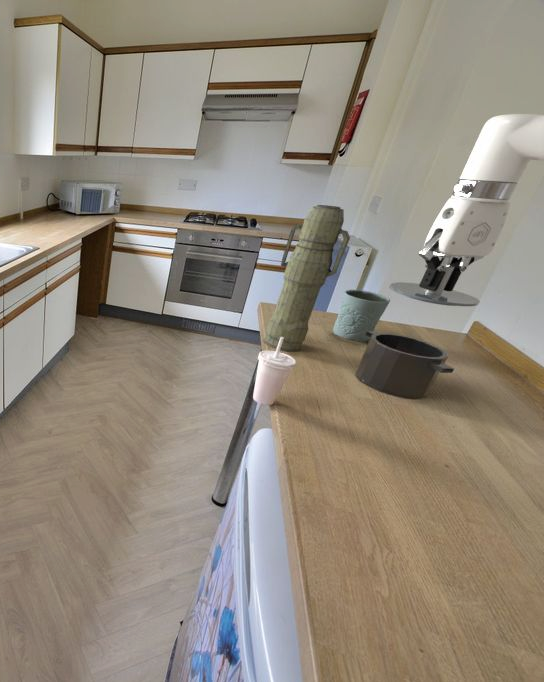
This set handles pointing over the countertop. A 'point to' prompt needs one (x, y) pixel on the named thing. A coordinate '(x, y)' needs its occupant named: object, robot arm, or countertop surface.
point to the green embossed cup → (359, 314)
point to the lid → (436, 292)
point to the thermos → (306, 275)
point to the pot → (401, 365)
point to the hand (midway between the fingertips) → (435, 288)
